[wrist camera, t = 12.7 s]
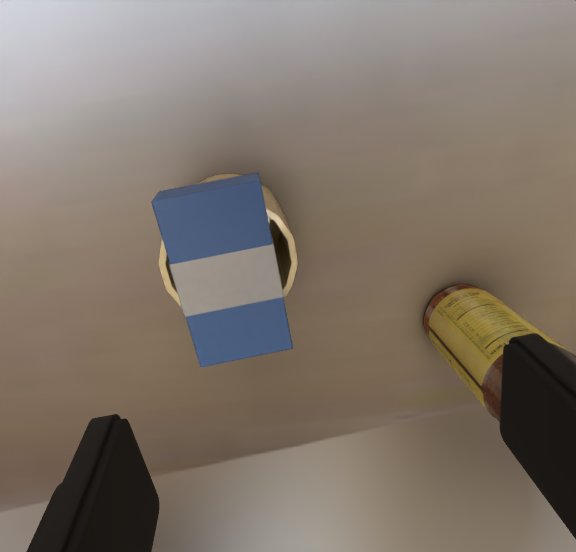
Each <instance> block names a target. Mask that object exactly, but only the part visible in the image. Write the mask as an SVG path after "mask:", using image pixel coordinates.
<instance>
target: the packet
mask: <svg viewBox="0 0 576 552" xmlns="http://www.w3.org/2000/svg"><path fill="white" fill-rule="evenodd" d="M152 206H153V209H154V212H155V216H156V219H157V222H158V226H159V229H160V232H161V236H162V239H163V242H164V246H165V249H166V253H167V256H168V259H169V263H170V264H169V266H170V270H171V273H172V276H173V280H174V283H175V286H176V290H177V293H178V296H179V300H180V303H181V306H182V310H183V313H184V316H185V317H186V320H187V323H188V326H189V330H190V333H191V336H192V340H193V343H194V346H195V350H196V353H197V357H198V360H199V363H200V366H201V367H205V366H210V365H215V364H220V363H224V362H229V361H234V360H239V359H244V358H249V357H254V356H258V355H263V354H268V353H273V352H278V351H283V350H287V349H292V348H293V345H292V340H291V335H290V330H289V325H288V320H287V314H286V309H285V304H284V299H283V297H284V294H283V289H282V284H281V279H280V274H279V268H278V263H277V258H276V253H275V248H274V243H273V239H272V235H271V232H270V227H269V222H268V217H267V212H266V206H265V201H264V196H263V191H262V186H261V181H260V177H259V174H258V173H252V174H247V175H242V176H236V177H231V178H226V179H221V180H216V181H210V182H205V183H200V184H195V185H190V186H184V187H179V188H174V189H169V190H164V191H159V192H158V194H157V195H156V196H155V198H154V199H153V200H152Z"/></svg>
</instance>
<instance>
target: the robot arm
mask: <svg viewBox="0 0 576 552" xmlns="http://www.w3.org/2000/svg"><path fill="white" fill-rule="evenodd" d="M500 432H501V435H502V438H503V440H504V442H505V443H506V445H507V446H508V448H509V449H510V450H511V452H512V453H513V454H514V456H515V457H516V459H517V460H518V461H519V463H520V464H521V465H522V466H523V468H524V469H525V471H526V472H527V473H528V475H529V476H530V478H531V479H532V480H533V482H534V483H535V484H536V486H537V487H538V488H539V490H540V491H541V492H542V494H543V495H544V497H545V498H546V499H547V500H548V502H549V503H550V505H551V506H552V507H553V509H554V510H555V512H556V513H557V514H558V516H559V517H560V518H561V520H562V521H563V523H564V524H565V525H566V527H567V528H568V529H569V531H570V532H571V533H572V535H573V536H574V537H575V539H576V365H575V364H574V363H572V362H571V361H570V360H569V359H568V358H566V357H565V356H564V355H563V354H562V353H561V352H559V351H558V350H557V349H556V348H555V347H553V346H552V345H551V344H550V343H549V342H547V341H546V340H545V339H544V338H543V337H542V336H540V335H539V334H537V333H532V334H526V335H521V336H516V337H512V338H511V339H510V340H509V344H506V345H505V346H504V348H503V364H502V386H501V409H500ZM158 514H159V498H158V495H157V493H156V489H155V487H154V485H153V482H152V479H151V477H150V474H149V472H148V469H147V467H146V464H145V462H144V459H143V457H142V454H141V452H140V449H139V447H138V444H137V442H136V439H135V437H134V434H133V432H132V429H131V427H130V424H129V422H128V420H127V419H121V418H120V417H119V416H118V415H117V414H114V415H109V416H104V417H98V418H93V419H92V420H91V421H90V422H89V424H88V426H87V429H86V431H85V433H84V435H83V438H82V440H81V442H80V444H79V447H78V449H77V451H76V453H75V456H74V458H73V460H72V462H71V464H70V467H69V469H68V471H67V473H66V476H65V478H64V480H63V482H62V483H61V484H60V485H59V486H57V488H56V490H55V491H54V493H53V495H52V497H51V500H50V502H49V504H48V506H47V508H46V511H45V513H44V515H43V517H42V520H41V521H40V524H39V526H38V528H37V530H36V533H35V534H34V537H33V539H32V541H31V543H30V545H29V548H28V550H27V552H151V550H152V545H153V540H154V535H155V530H156V525H157V519H158Z"/></svg>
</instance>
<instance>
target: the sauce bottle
mask: <svg viewBox="0 0 576 552" xmlns="http://www.w3.org/2000/svg"><path fill="white" fill-rule="evenodd" d="M423 323H424V328H425V331H426V333H427V335H428V336H429V338H430V340H431V342H432V344H433V346H434V347H435V349H436V350H437V351H438V352H439V353H440V354H441V356H442V357H443V358H444V359H445V360H446V362H447V363H448V364H449V365H450V366H451V367H452V369H453V370H454V371H455V372H456V373H457V375H458V376H459V377H460V378H461V379H462V381H463V382H464V383H465V384H466V385H467V387H468V388H469V389H470V390H471V391H472V393H473V394H474V395H475V396H476V397H477V399H478V400H479V401H480V402H481V403H482V405H483V406H484V407H485V408H486V409H487V410H488V412H489V413H490V414H491V415H492V416H493V417H495V418H496V419H497V420H498V421H499V422H500V409H501V386H502V364H503V348H504V346H505V345H506V344H509V340H510V339H511V338H512V337H516V336H521V335H526V334H532V333H537V334H539V335H540V336H542V337H543V338H544V339H545V340H546V341H547V342H549V343H550V344H551V345H552V346H553V347H555V348H556V349H557V350H558V351H559V352H561V353H562V354H563V355H564V356H565V357H566V358H568V359H569V360H570V361H571V362H572V363H574V364H575V365H576V356H575V355H574V354H573V353H571V352H570V351H569V350H567V349H566V348H564V347H563V346H562V345H561V344H559V343H558V342H556V341H555V340H553V339H552V338H551V337H549V336H548V335H546V334H545V333H544V332H542V331H541V330H539V329H538V328H537V327H535V326H534V325H533V324H531V323H530V322H529V321H527V320H526V319H524V318H523V317H522V316H520V315H519V314H518V313H516V312H515V311H514V310H512V309H511V308H509V307H508V306H507V305H505V304H504V303H503V302H501V301H500V300H498V299H497V298H496V297H494V296H493V295H491V294H490V293H488V292H487V291H484V290H481V289H478V288H476V287H474V286H469V285H463V284H462V285H457V286H453V287H450V288H448V289H446V290H443V291H441V293H439V294H437V295H436V296H434V297H433V299H432V301H431V302H430V304H429V305H428V308H427V310H426V313H425V317H424V321H423Z"/></svg>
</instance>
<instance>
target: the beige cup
mask: <svg viewBox="0 0 576 552" xmlns="http://www.w3.org/2000/svg"><path fill="white" fill-rule="evenodd" d="M236 176H242V175H237V174H220V175H216V176H212V177H209V178H206V179H204V180H203V181H201V182H199V183H198V184H200V183H205V182H210V181H216V180H221V179H226V178H231V177H236ZM261 186H262V191H263V196H264V201H265V206H266V212H267V217H268V222H269V227H270V232H271V235H272V239H273V243H274V248H275V253H276V258H277V263H278V268H279V274H280V279H281V284H282V289H283V294H284V297H285V296H286V294H287V293H288V292H289V290H290V289H291V288H292V285H293V281H294V277H295V273H296V269H297V265H298V260H297V254H296V248H295V242H294V238H293V235H292V233H291V230H290V228H289V225H288V223H287V220H286V217H285V215H284V212H283V210H282V208H281V206H280V205H279V203H278V202H277V200H276V198H275V197H274V196H273V194H272V193H271V191H270V190H268V189H267V188H266V187H265V186H263V185H262V184H261ZM169 264H170V263H169V259H168V256H167V253H166V249H165V246H164V242H163V239H162V241H161V249H160V256H159V268H160V271H161V275H162V278H163V281H164V284H165V288H166V290H167V291H168V292H169V293H170V294H171V296H172V297H173V298H174V299H175V300H176V302H177V303H178V304H179V305H180V306H181V303H180V300H179V296H178V293H177V290H176V286H175V283H174V280H173V276H172V273H171V270H170V266H169ZM284 297H283V298H284ZM181 307H182V306H181Z"/></svg>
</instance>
